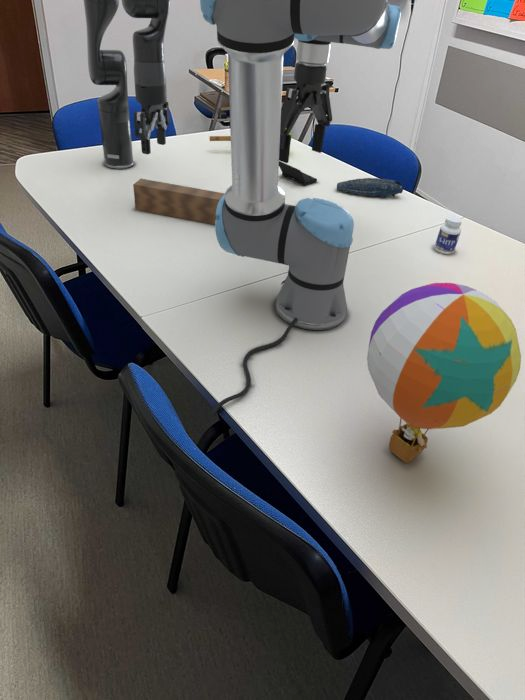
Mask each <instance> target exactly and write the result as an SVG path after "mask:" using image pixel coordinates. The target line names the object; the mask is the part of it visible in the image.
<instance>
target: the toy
mask: <svg viewBox="0 0 525 700" xmlns="http://www.w3.org/2000/svg"><path fill="white" fill-rule="evenodd" d="M367 347H368V348H367V354H366V355H367V356H366V362H367V370H368V372H369V375H370V377H371V379H372V380H371V381H372V382H373V385H374V387H375V389H376V391H377V394H378V395H379V397H381V399H382V401H384V402H385V403H386V405H387V406H388V407H389V408H390V409H391V410H392V411H393V412H394V413H395V414H396V415H397V416H398V417H399V418H400V419H399V425H398V428H397V429H393V430H392V434H391V436H390V440H389V444H388V449H389V451H390V453H392V454H394V455H395V456H396V457H397V458H399V460H401V461H402V462H404V463H405V464H409V463H410V462H412V461H413V460H414V459H415V458H417V457H418V456H419V455H420V454H421V453H423V451H424V449H427V447H428V440H429V438H428V437H427V436H426V434H427V433H428V431H429V430H437V429H453V428H461V427H466V426H467V425H469V424H472V423H475V422H477V421H478V420H481V419H483V418H485V417H487V416H489V415H492V413H494V412H495V411H496V410H497V409H498V408H500V407H501V405H502V404H503V402H504V401H505V399H506V398H507V396H508V395H509V394H510V391H512V388H513V387H514V385H515V383H516V382H517V379H518V376H519V373H520V371H521V362H522V354H521V349H520V343H519V338H518V333H517V329H516V327H515V324H514V323H513V321H512V319H511V317H510V316H509V315H508V314H507V312H506V311H505V310H504V309H503V307H502V306H500V304H499V303H498V302H497V301H496V300H495V299H493V298H491V297H490V296H489V295H487V294H485V293H484V292H483V291H481V290H478V289H475V288H473V287H470V286H467V285H464V284H458V283H453V282H434V283H429V284H424V285H421V286H418V287H414V288H411V289H409V290H407V291H405V292H403V293H402V294H401V295H399V296H398V297H397V298H396V299H394V301H393V302H392V303H390V304H389V305H388V306H387V307H386V308H385V309H383V310H382V311H381V313H380V314H379V315H378V317H377V319H376V320H375V321H374V324H373V327H372V330H371V332H370V338H369V342H368V346H367ZM402 420H403V421H404V422H405V423H404V424H403V425H402ZM421 429H422V430H426V431H425V432H424V433H423V432H422V430H421Z"/></svg>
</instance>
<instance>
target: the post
mask: <svg viewBox="0 0 525 700" xmlns="http://www.w3.org/2000/svg"><path fill="white" fill-rule="evenodd" d="M132 185H133V187H132V188H133V197H134V209H135V211H140V212H146V213H149V214H155V215H161V216H165V217H166V216H167V217H171V218H177V219H181V220H186V221H187V220H188V221H193V222H198V223H203V224H209V225H214V226H215V220H216V209H217V205H218V203H219V200H220V199H221V197H222V196H223V195H225V193H226V192H219V191H214V190H209V189H202V188H198V187H197V188H196V187H191V186H185V185H180V184H176V183H175V184H174V183H168V182H164V181H163V182H162V181H158V180H157V181H156V180H152V179H146V178H140V179H138V180H137V181H136V182H134V183H133V184H132ZM286 204H287V203H286ZM287 205H289V204H287ZM291 205H292V204H291ZM292 206H294V205H292Z"/></svg>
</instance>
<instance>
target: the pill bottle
mask: <svg viewBox="0 0 525 700" xmlns="http://www.w3.org/2000/svg"><path fill="white" fill-rule="evenodd" d="M462 222H463V219H461V218H460V217H458V216H455V215H448V216H446V218H445V220H444V223H443V224H442V225H440V228H439V231H438V234H437V237H436V240H435V243H434V250H435V251H437V252H439V253H441V254H447V255H449V254H453V253H454V252H455V250H456V247H457V244H458V242H459V239H460V236H461V233H462V229H461V225H462Z"/></svg>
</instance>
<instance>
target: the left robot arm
mask: <svg viewBox="0 0 525 700" xmlns="http://www.w3.org/2000/svg"><path fill="white" fill-rule="evenodd" d="M121 4H122V9H123V10H124V11H125V13H126V14H127V15H128V16H129V17H131V18H133V19H150V22H149V24H148V25H147V27H145V28H141V29H137V30H135V31H134V32H133V34H132V49H133V81H134V92H135V93H134V94H135V101H136V103H138V104H140V111H134V112H133V123H134V125H133V126H134V137H135V138H137V139H140V146H141V153H142V154H144V155H150V154H151V150H152V148H151V139H150V138H151V134H152V132H153V131H154V130H155V128H156V143H157V144H158V145H161V146H164V145H166V144H167V141H166V139H167V137H166V131H167V128H168V127H167V126H170V124H171V123H170V121H171V120H170V106H169V101H167V100H168V99H167V98H168V97H167V96H168V95H167V75H166V74H167V73H166V65H165V48H164V47H165V46H164V45H165V43H164V42H165V34H166V27H167V22H168V18H169V13H170V7H171V0H121ZM119 5H120V0H83V7H84V14H85V22H86V23H85V25H86V41H87V42H86V43H87V44H86V45H87V47H86V48H87V67H88V75H89V78H90V81H91V83H93V84H94V85H97V86H115V87H114V88H113V90H111V91H110V92H109V93H106V94H104V95H101V96H100V97H98V99H97V109H98V116H99V117H98V118H99V125H100V126H99V127H100V134H101V143H102V151H103V160H104V161H103V162H104V166H105V167H108V168H110V169H117V170H119V169H120V170H121V169H122V170H123V169H129V168H131V167H133V166H134V164H135V163H134V153H133V140H132V128H131V116H130V105H129V91H128V64H127V58H126V55H125V53H124V52H123V50H119V49H101V47H102V46H101V44H102V41H103V37H104V35H105V33H106V31H107V29H108V27H109V26H110V24H111V22H112V21H113V19H114V17H115V16H116V14H117V12H118V8H119Z"/></svg>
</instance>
